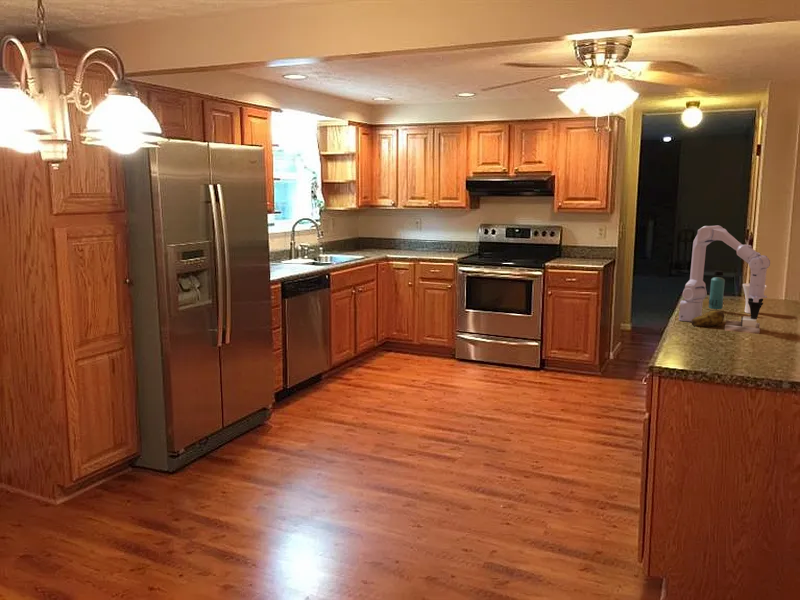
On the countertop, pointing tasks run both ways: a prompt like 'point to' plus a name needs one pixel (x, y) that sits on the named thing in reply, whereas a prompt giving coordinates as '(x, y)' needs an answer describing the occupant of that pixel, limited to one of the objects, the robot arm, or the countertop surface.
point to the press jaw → (748, 321)
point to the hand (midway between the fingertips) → (753, 316)
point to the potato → (709, 319)
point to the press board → (737, 327)
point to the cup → (746, 291)
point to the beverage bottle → (716, 291)
